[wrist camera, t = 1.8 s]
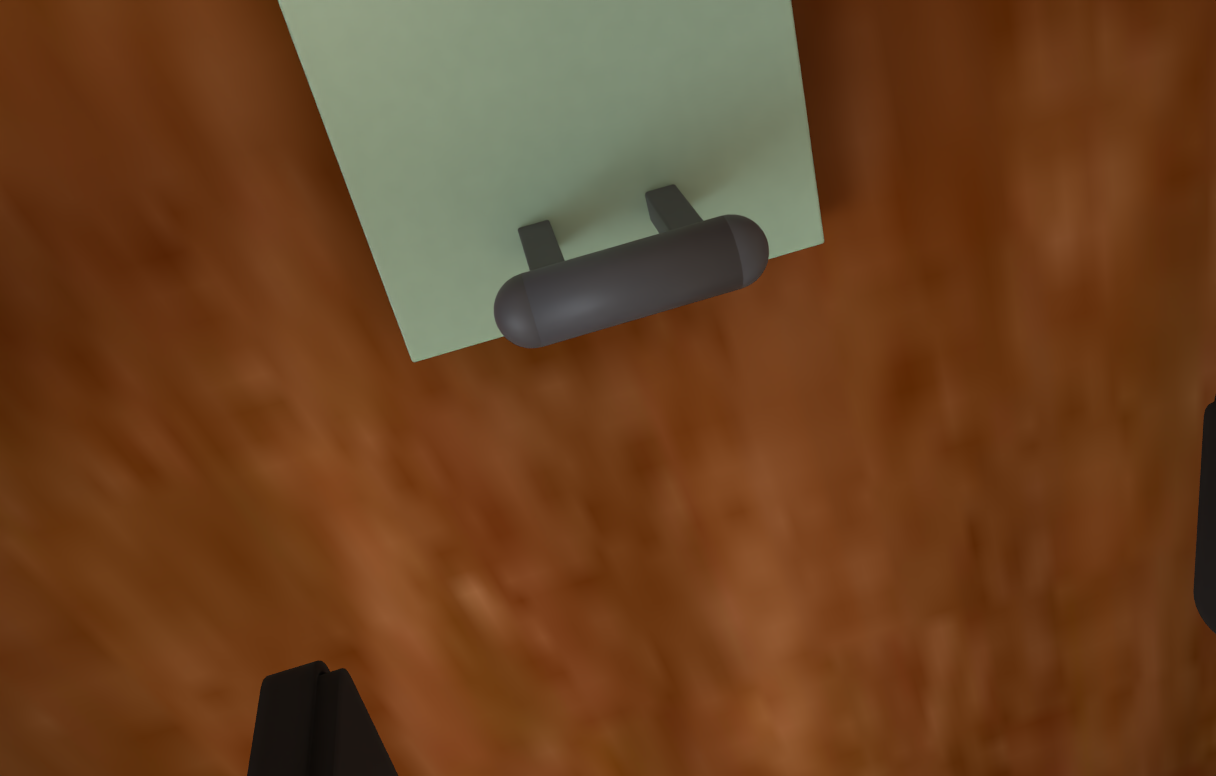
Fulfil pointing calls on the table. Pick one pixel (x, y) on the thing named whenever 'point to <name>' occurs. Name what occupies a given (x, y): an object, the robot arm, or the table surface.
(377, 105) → the sign
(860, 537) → the table surface
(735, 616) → the table surface
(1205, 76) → the table surface
